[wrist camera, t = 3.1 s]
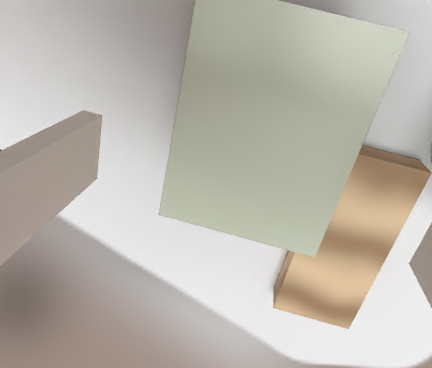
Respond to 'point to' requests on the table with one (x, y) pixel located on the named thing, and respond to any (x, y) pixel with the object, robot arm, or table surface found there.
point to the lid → (273, 117)
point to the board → (353, 239)
